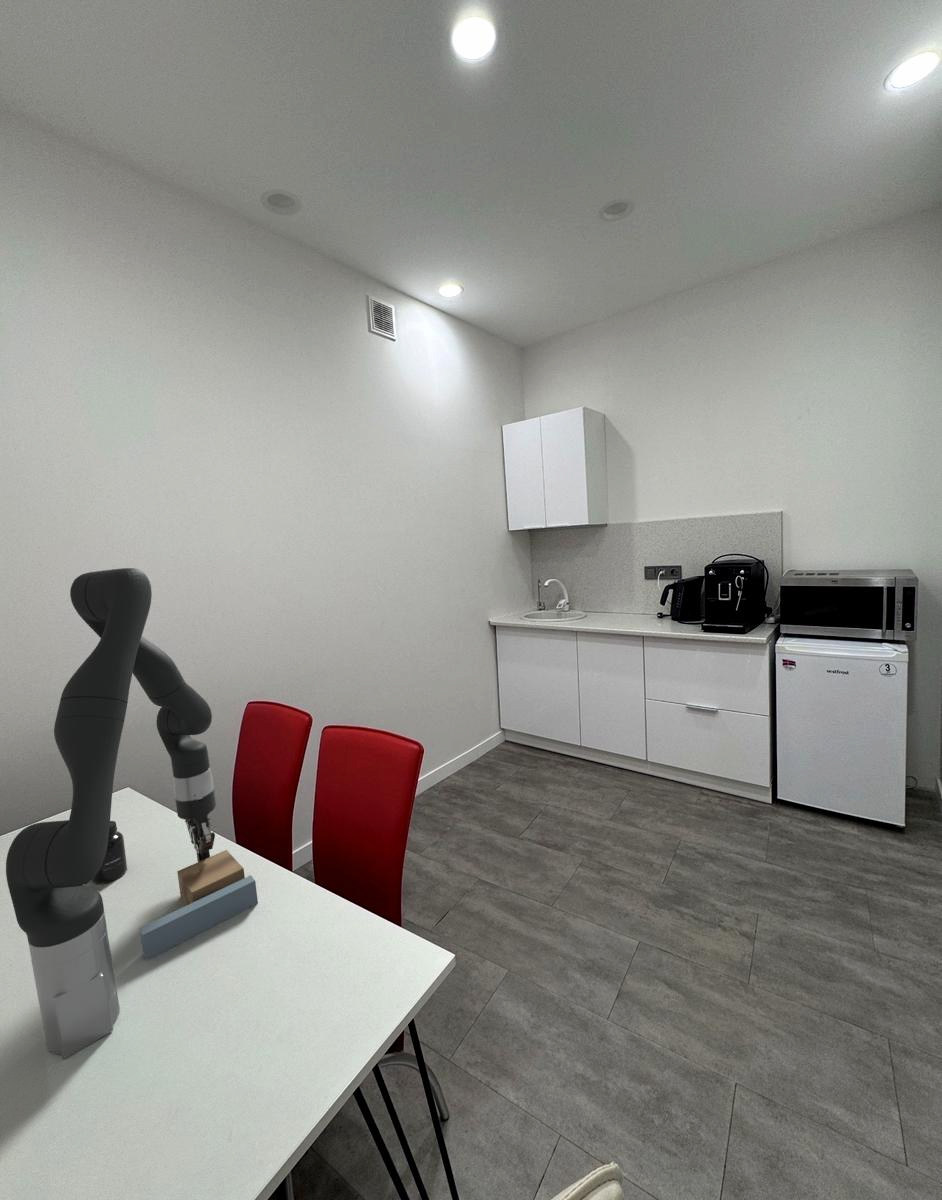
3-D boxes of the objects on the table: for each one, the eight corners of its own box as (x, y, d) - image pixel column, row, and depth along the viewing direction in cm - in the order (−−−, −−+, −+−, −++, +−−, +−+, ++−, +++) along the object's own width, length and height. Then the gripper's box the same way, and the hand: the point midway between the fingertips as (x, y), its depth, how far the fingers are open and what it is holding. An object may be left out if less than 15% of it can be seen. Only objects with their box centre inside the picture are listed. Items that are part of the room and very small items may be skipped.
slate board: (257, 903, 108) (255, 880, 107) (146, 960, 94) (142, 934, 94) (253, 897, 110) (250, 875, 109) (143, 953, 96) (139, 927, 96)
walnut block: (246, 894, 111) (243, 868, 110) (195, 920, 104) (192, 892, 103) (229, 874, 118) (226, 849, 117) (180, 897, 111) (177, 871, 110)
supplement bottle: (114, 884, 117) (106, 833, 116) (84, 885, 117) (76, 835, 116) (134, 865, 124) (127, 817, 122) (106, 866, 124) (98, 818, 123)
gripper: (167, 788, 116) (177, 860, 118) (184, 808, 107) (195, 886, 109) (203, 775, 121) (212, 845, 124) (223, 793, 112) (232, 869, 114)
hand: (204, 864), depth 116 cm, fingers closed
